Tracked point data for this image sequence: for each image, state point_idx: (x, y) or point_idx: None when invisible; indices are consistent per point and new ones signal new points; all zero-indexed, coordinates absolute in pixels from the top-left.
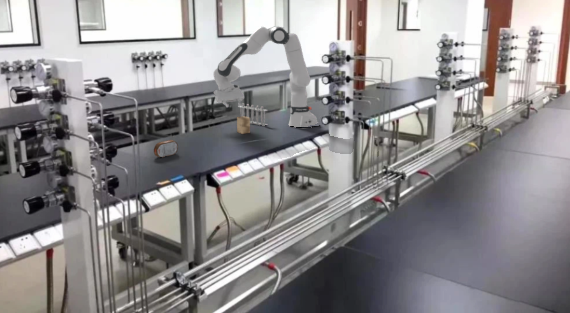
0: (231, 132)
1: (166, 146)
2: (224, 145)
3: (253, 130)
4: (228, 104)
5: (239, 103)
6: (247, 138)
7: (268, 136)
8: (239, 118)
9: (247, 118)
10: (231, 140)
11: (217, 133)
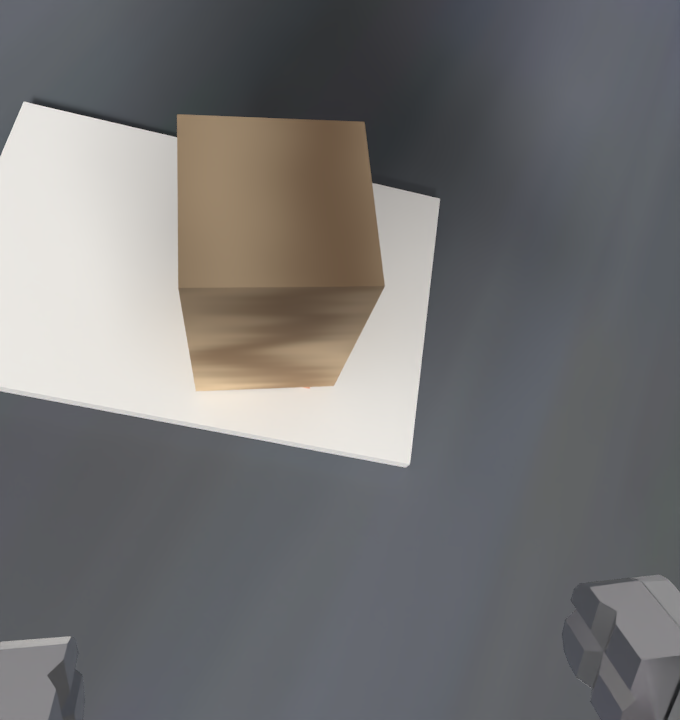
0: (377, 486)
1: None
2: (645, 41)
3: (5, 443)
4: (617, 619)
5: (36, 675)
6: None
7: (59, 71)
8: (371, 206)
9: (235, 124)
10: (529, 144)
11: (578, 525)
